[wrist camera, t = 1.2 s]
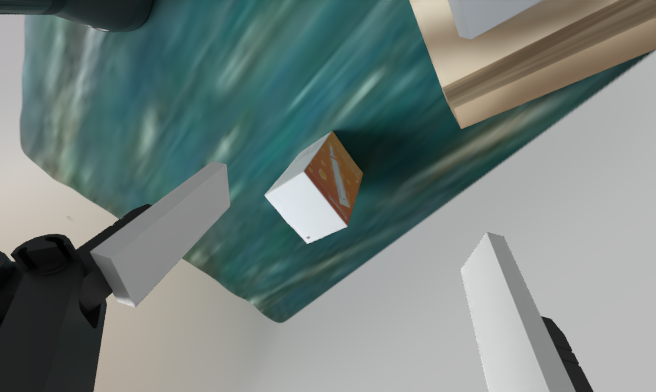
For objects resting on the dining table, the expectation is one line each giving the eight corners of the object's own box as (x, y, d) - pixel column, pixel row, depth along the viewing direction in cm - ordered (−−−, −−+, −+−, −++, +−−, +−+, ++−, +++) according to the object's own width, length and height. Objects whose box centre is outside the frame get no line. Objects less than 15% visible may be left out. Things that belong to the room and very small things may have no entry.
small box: (364, 173, 39) (349, 228, 29) (331, 190, 42) (307, 246, 32) (332, 128, 37) (303, 170, 26) (300, 150, 40) (262, 196, 29)
